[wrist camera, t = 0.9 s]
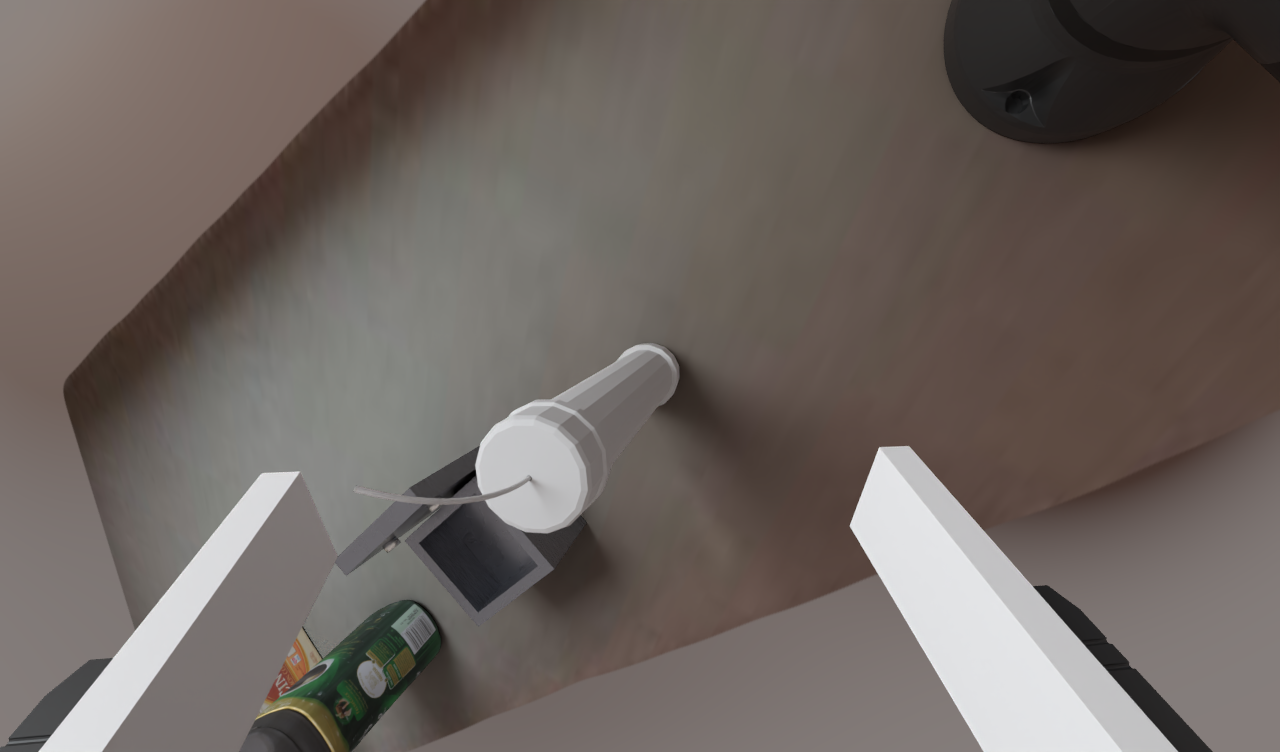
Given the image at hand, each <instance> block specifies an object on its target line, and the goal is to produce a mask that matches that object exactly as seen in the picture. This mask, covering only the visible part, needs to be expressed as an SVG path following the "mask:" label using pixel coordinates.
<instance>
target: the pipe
mask: <svg viewBox="0 0 1280 752" xmlns="http://www.w3.org/2000/svg"><path fill="white" fill-rule="evenodd" d="M679 378H680V374H679V365H678V363H677V361H676V358H675V356H674V355H673V354H672V353H671V352H670V351H669V350H668V349H667V348H666V347H663V346H661V345H658V344H655V343H646V344H639V345H636V346H634V347H632V348H630V349H628V350H626V351H625V352H624V353H623V354H622V355H621V356H620V357H619V358H618V360H617V361H616V362H615V363H613V364H611V365H610V366H608V367H606V368H604V369H603V370H601V371H599V372H598V373H596V374H594V375H592V376H591V377H589V378H587V379H586V380H584V381H582V382H580V383H579V384H577V385H575V386H574V387H572V388H570V389H568V390H567V391H565V392H563V393H562V394H560V395H558V396H556V397H555V398H553V399H551V400H535V401H533V402H531V403H529V404H527V405H525V406H522V407H520V408H518V409H516V410H514V411H513V412H512V413H511V414H510V415H509V416H508V418H506V419H504V420H503V421H501V422H499V423H497V424H495V425H494V427H493V428H492V429H491V430H490V432H489V433H488V434H487V435H486V437H485V438H484V439H483V440H482V442H481V444H480V448H479V452H478V456H477V460H476V464H475V467H476V474H477V482H478V487H479V489H480V491H481V493H482V495H479V496H472V497H464V498H447V499H446V498H422V497H411V496H404V495H398V494H391V493H386V492H381V491H377V490H372V489H368V488H365V487H361V486H357V485H356V487H355V489H354V492H356V493H360V494H364V495H368V496H372V497H377V498H381V499H386V500H393V501H399V502H406V503H416V504H428V505H451V504H464V503H471V502H478V501H483V500H485V501H486V503H487V505H488V507H489V508H490V509H491V510H492V511H493V512H494V513H496V514H497V515H498V516H499V517H500V518H501V519H502V520H503V521H504V522H505V523H507V524H509V525H511V526H513V527H516V528H518V529H520V530H522V531H524V532H532V533H551V532H553V531H556V530H559V529H562V528H564V527H567V526H570V525H571V524H572V523H573V522H574V521H575V520H576V519H577V518H578V517H579V516H580V515H581V514H582V513H583V512H584V511H585V510H586V509H587V508H588V507H589V506H590V505H591V504H592V503H593V502H594V501H595V500H596V499H597V498H598V497H599V496H600V494H601V493H602V492H603V490H604V488H605V485H606V482H607V479H608V476H609V473H610V470H611V465H612V464H613V463H614V462H615V460H616V459H617V458H618V456H619V455H620V454H621V453H622V451H623V450H624V449H625V448H626V446H627V445H628V444H629V442H630V441H631V440H632V439H633V437H634V436H635V435H636V433H637V432H638V431H639V430H640V428H641V427H642V426H643V425H644V423H645V422H646V421H647V419H648V418H649V417H650V416H651V414H652V413H653V412H654V410H655V409H656V408H657V407H658V406H661V405H663V404H665V403H666V402H667V401H668V400H669V399H670V398H671V396H672V395H673V394H674V392H675V389H676V387H677V384H678V381H679Z"/></svg>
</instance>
